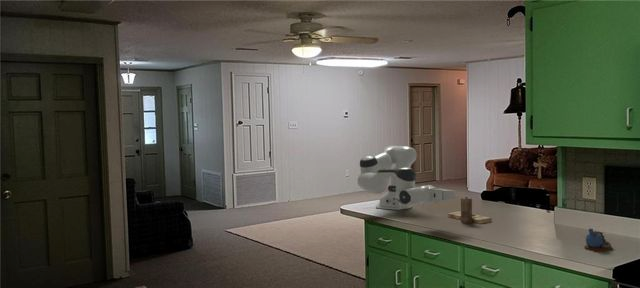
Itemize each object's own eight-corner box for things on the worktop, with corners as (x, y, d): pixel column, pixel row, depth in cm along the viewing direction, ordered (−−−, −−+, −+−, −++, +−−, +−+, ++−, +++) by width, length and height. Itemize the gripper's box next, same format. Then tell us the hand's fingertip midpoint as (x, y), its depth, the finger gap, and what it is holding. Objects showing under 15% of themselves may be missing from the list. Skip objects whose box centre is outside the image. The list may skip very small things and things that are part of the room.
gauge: (466, 223, 282) (466, 197, 281) (461, 222, 286) (460, 196, 285) (477, 221, 286) (477, 195, 285) (472, 220, 289) (471, 195, 289)
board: (491, 221, 285) (491, 217, 285) (479, 223, 280) (479, 220, 280) (459, 214, 306) (459, 211, 306) (447, 216, 301) (447, 213, 301)
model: (600, 253, 219) (600, 230, 218) (579, 248, 227) (579, 227, 226) (617, 248, 225) (617, 226, 224) (596, 244, 233) (596, 223, 232)
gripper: (415, 197, 280) (435, 194, 287) (442, 202, 262) (462, 199, 269) (415, 185, 280) (435, 183, 286) (441, 189, 262) (462, 187, 269)
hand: (448, 191), depth 278 cm, fingers open, 8 cm apart
